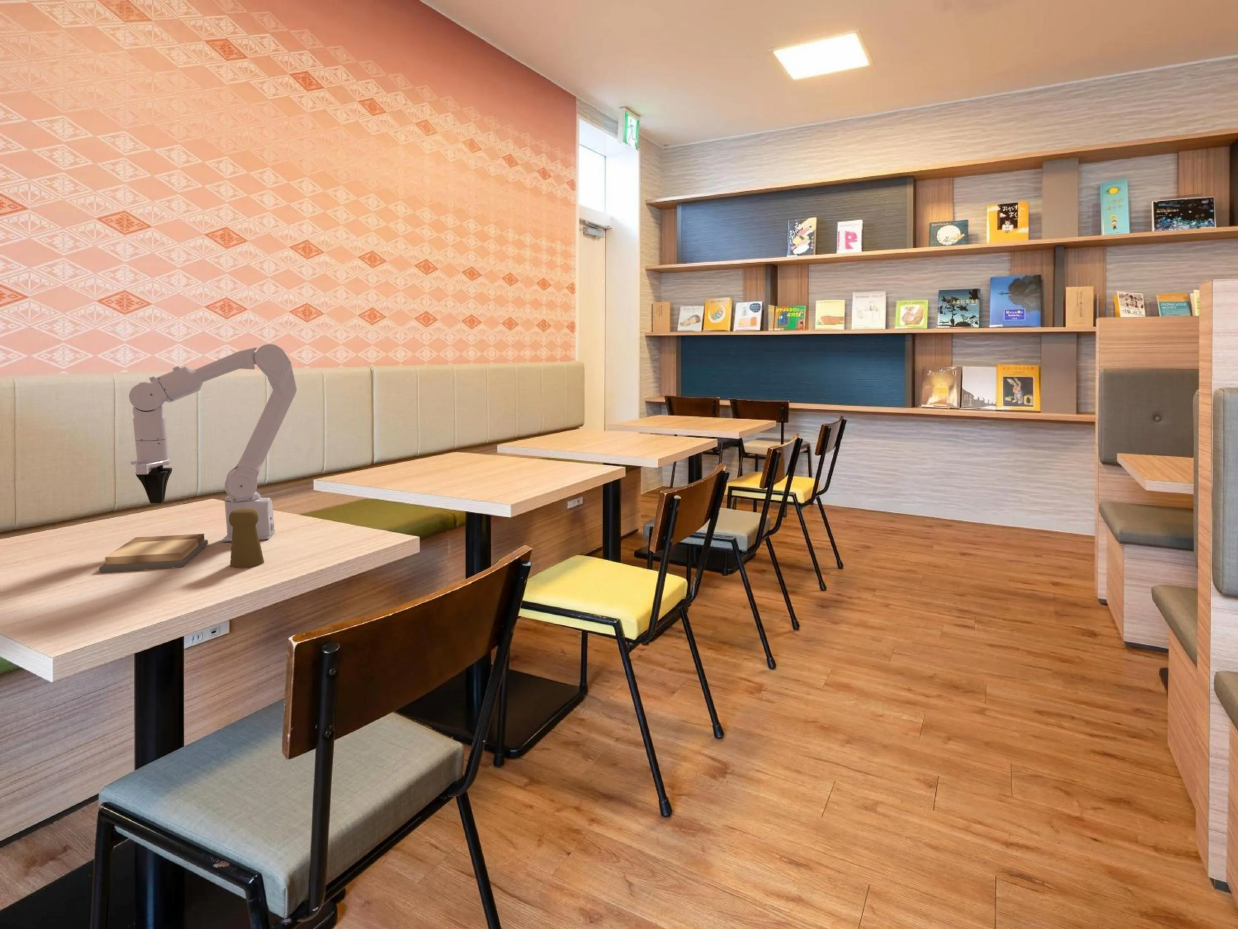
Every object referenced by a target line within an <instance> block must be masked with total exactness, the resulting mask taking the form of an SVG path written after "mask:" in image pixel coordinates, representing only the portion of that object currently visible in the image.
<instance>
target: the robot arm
mask: <svg viewBox="0 0 1238 929" xmlns="http://www.w3.org/2000/svg"><path fill="white" fill-rule="evenodd" d="M255 365H256V366H257V367H258V368H259V370H260V371H261V372H262V373H263V374H264V375H265V376H266V377H267V380H268V382H269V384H270V385H269V386H270V387H271V388H272V392H271V394H270V395H269V398H268V400H267V403H266V404H265V406H264V409H263V411H262V412H261V415H260V417H259V419H258V421H257V423H256V425H255V428H254V429H253V432H252V433H251V435H250V438H249V440H248V442H247V444H246V447H245V449H244V451H243V453H242V454H241V457H240V458H239V461H238V463H237V464H236V466H234V468H231V469H230V470H229V471H228V473H227V475H226V478H225V479H226V480H225V482H224V491H225V492H226V494H227V496H225V497H224V499H223V500H224V509H225V510H224V511H225V523H226V534H227V535H225V536H224V537H223V538H222V539H221V542H223V543H227V542H232V531H233V527H232V526H231V525H230V522H229V515H230V513H231V512H232V511H234V510H237V509H242V508H250V509H254V510H256V511H257V512H258V516H259V519H258V522H257V524H256V527H257V532H258V536H259V541H260V540H261V541H262V540H269V539H270V538H271V537H272V536H273V535H274V533H275V532H276V529H275V519H274V506H273V501H272V498H270V497H262V496H261V493H259V492H258V491H257V490H258V476H259V474H260V472H261V469H262V467H263V464H264V462H265V460H266V458H267V455H268V453H269V451H270V448H271V447H272V446H273V445H272V444H273V443H274V440H275V438H276V436H277V434H278V432H279V431H280V427H281V425H282V423H283V421H284V419H285V417H286V415H287V413H288V411H289V408H290V407H291V404H292V403H293V400H294V398H295V396H296V394H297V384H296V380H295V375H294V371H293V366H292V362H291V359H290V358H289V356H288V355H287V353H286V351H285V350H284V349H283V348H282V347H280V346H279V345H276V344H274V343H268V344H267V343H266V344H263V345H261V346H260V347H259V348H258V347H252V348H248V349H243V350H239V351H237V352H234V353H231V354H229V355H226V356H224V357H222V358H219V359H217V360H215V361H212V362H210V363H207V364H205V365H203V366H201V367H198V368H193V367H189V366H187V365H185V366H182V367H181V366H180V365H177V366H174V367H173V368H172V371H170V372H167V373H164V374H162V375H160V376H157V377H156V376H155V375H153V376H150V377H149V378H148V379H149V381H150V382H147V381H145V382H138V384H136V385H134V386H133V387H132V388H131V389H130V392H129V394H128V399H129V402H130V404H131V405H132V415H133V418H132V422H133V431H134V432H133V434H134V441H135V444H134V445H135V452H136V460H135V459H134V460H131V461H130V465H135V476H136V477H137V479H138V480H139V481H140V483H141V484H142V486H143V488H144V490H145V493H146V496H147V499H148V501H149V504H162V503H164V502H165V499H166V492H167V487H168V482H169V479H170V476H171V475H172V472H173V468H172V467H164V466H166V465H167V466H168V465H170V464H171V458H170V455H169V446H168V433H167V425H166V424H167V422H166V417H165V413H164V406H163V405H164V404H165V402H166V403H172V402H175V401H177V400H181V399H183V398H185V397H188V396H191V395H194V394H196V393H197V392H200V391H201V389H202V386H203V384H204V382H207V381H210V380H212V379H213V380H214V379H216V378H218V377H220V376H223V375H227V374H229V373H232V372H235V371H237V370H241V369H244V370H255V368H256V367H255Z"/></svg>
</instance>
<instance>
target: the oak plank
mask: <svg viewBox="0 0 1238 929" xmlns="http://www.w3.org/2000/svg"><path fill="white" fill-rule="evenodd" d="M197 546H198V539H185V540H167V541H150V542H132V543H128V542H126V543H124V544H123V545H122V546H120V547H118V548H117V549H115V550H114V551H112V552H111V553H109V554H107V555H106V556H104V560H105V563H106V565H112V564H128V563H143V562H159V561H175V560H183V559H184V558H185V557H186V556H187V555H188V554H189V553H191V552H192V551H193V550H194V549H195V548H196V547H197ZM105 563H104V564H105Z"/></svg>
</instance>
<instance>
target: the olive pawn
mask: <svg viewBox="0 0 1238 929" xmlns="http://www.w3.org/2000/svg"><path fill="white" fill-rule="evenodd" d="M258 519H259V516H258V512H257V511H256V510H254V509H250V508H242V509H237V510H234V511H232V512H231V513H230V515H229V522H230V525H231V526H232V527H233V531H232V541H231V547H230V548H231V549H230V563H229V566H230V567H231V568H233V567H234V569H246V568H247V569H248V568H254V567H258V566H261V565H263V564H265V560H264V556H263V550H262V546H261V545H262V544H261V543H260V540H259V536H258V532H257V527H256V524H257V522H258Z"/></svg>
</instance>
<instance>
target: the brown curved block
mask: <svg viewBox="0 0 1238 929" xmlns="http://www.w3.org/2000/svg"><path fill="white" fill-rule="evenodd" d="M185 539H198V546H199V545H200V544H201V543H202V542H203V541H204V540H206V539H205V533H194V534H190V533H189V534H173V535H170V534H169V535H156V536H155V535H154V536H139V537H138V536H137V537H134V538H132V539H130V541H128V542H127V543H132V542H150V541H167V540H185Z"/></svg>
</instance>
